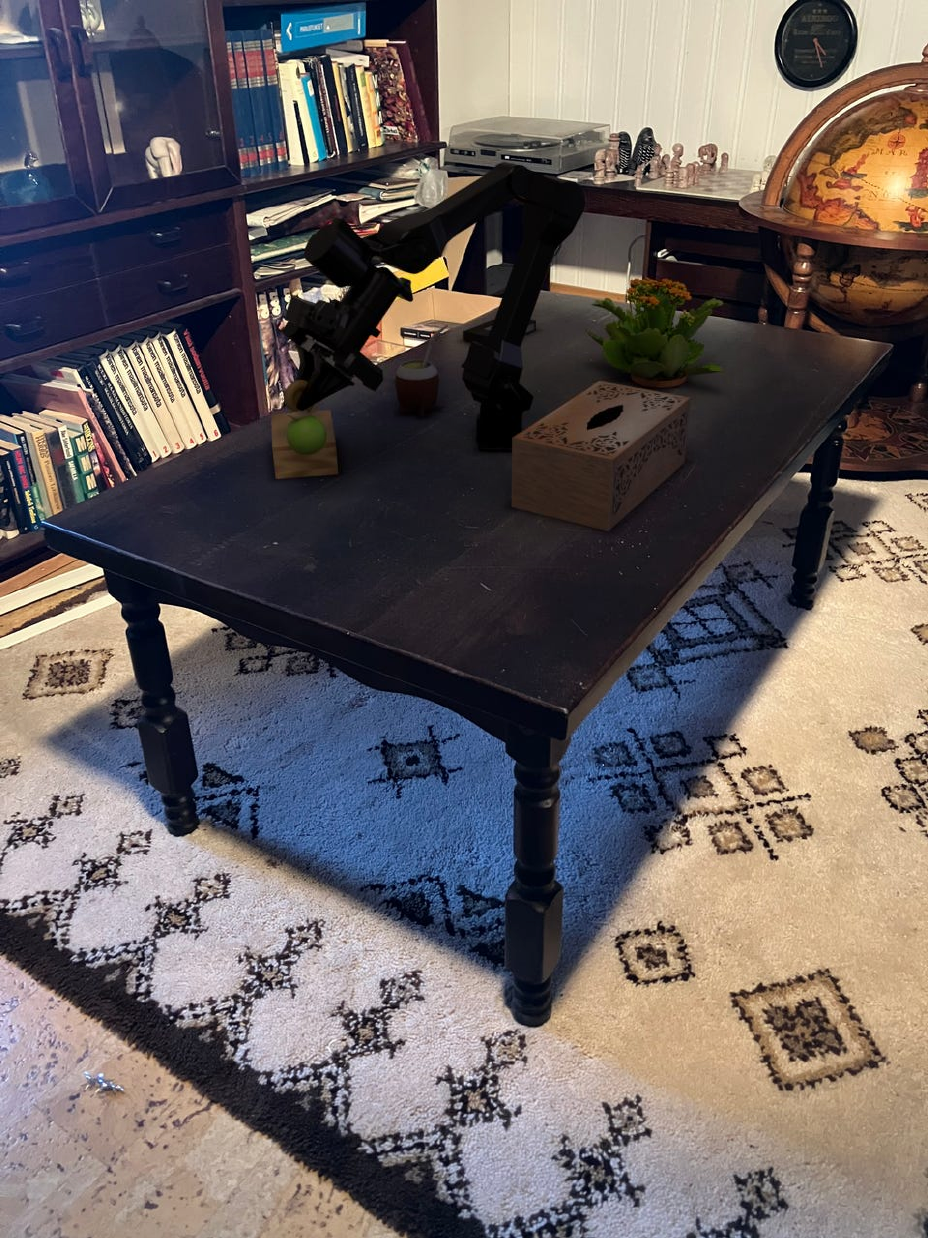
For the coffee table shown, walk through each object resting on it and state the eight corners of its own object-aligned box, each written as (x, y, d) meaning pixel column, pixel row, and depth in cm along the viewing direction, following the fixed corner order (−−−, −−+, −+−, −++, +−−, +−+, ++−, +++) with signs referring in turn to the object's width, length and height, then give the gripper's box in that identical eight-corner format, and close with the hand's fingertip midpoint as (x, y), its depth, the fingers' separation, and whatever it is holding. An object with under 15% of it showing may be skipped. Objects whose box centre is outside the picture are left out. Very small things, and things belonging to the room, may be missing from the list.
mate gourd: (392, 407, 176) (387, 317, 168) (437, 401, 178) (434, 312, 170) (404, 422, 170) (399, 330, 162) (450, 416, 172) (448, 324, 164)
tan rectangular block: (332, 440, 164) (330, 409, 161) (338, 474, 153) (335, 441, 150) (274, 444, 162) (271, 414, 160) (275, 479, 151) (272, 446, 149)
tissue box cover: (608, 531, 136) (612, 459, 131) (511, 506, 143) (512, 437, 137) (684, 462, 154) (691, 397, 149) (595, 443, 161) (599, 380, 156)
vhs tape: (536, 330, 212) (536, 320, 210) (493, 348, 202) (493, 337, 201) (506, 324, 216) (506, 314, 214) (463, 341, 206) (462, 331, 205)
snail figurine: (342, 449, 143) (332, 365, 137) (304, 465, 140) (292, 378, 133) (318, 439, 147) (307, 355, 140) (281, 453, 143) (268, 369, 137)
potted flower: (759, 386, 181) (773, 283, 172) (657, 416, 170) (667, 308, 161) (658, 351, 199) (666, 255, 190) (561, 375, 188) (564, 275, 179)
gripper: (286, 257, 139) (221, 355, 140) (354, 286, 126) (281, 394, 127) (344, 306, 147) (281, 399, 148) (413, 339, 134) (344, 440, 134)
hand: (295, 407), depth 139 cm, fingers closed on snail figurine
